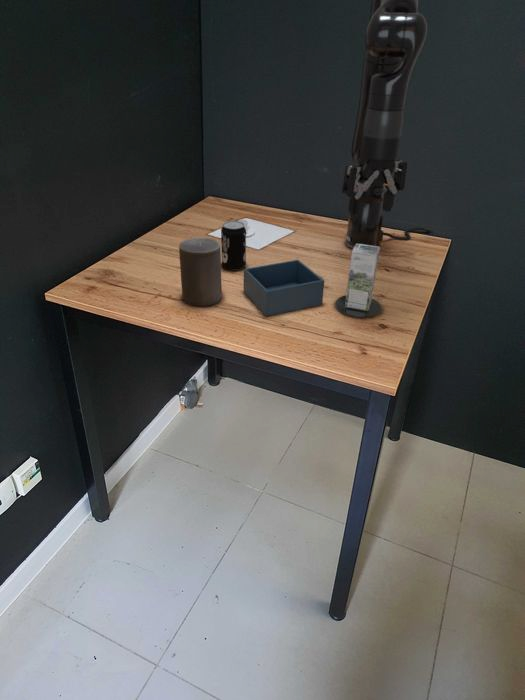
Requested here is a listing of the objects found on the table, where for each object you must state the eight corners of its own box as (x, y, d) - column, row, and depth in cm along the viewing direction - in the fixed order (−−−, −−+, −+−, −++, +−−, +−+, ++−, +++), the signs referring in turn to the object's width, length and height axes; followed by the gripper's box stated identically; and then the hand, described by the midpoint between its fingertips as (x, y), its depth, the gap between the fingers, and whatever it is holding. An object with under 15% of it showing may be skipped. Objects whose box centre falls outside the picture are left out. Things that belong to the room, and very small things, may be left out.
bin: (296, 282, 132) (298, 259, 128) (322, 304, 122) (324, 280, 118) (243, 292, 126) (243, 268, 123) (265, 316, 116) (266, 291, 113)
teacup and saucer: (241, 226, 165) (241, 214, 163) (261, 232, 161) (261, 219, 159) (224, 234, 159) (224, 221, 157) (244, 240, 155) (244, 227, 153)
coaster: (363, 293, 127) (364, 291, 127) (390, 313, 119) (390, 311, 119) (326, 301, 123) (326, 299, 123) (351, 322, 115) (351, 320, 115)
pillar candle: (189, 309, 118) (185, 249, 110) (177, 291, 126) (173, 234, 117) (227, 302, 121) (226, 244, 113) (214, 285, 129) (212, 229, 120)
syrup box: (371, 301, 122) (381, 245, 114) (368, 312, 118) (377, 254, 110) (348, 297, 124) (356, 241, 116) (344, 308, 119) (351, 251, 111)
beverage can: (242, 272, 136) (242, 229, 129) (219, 269, 137) (218, 227, 130) (248, 262, 141) (248, 221, 135) (225, 260, 142) (224, 219, 136)
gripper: (362, 139, 94) (352, 222, 103) (422, 134, 99) (407, 214, 108) (341, 131, 100) (333, 211, 109) (398, 127, 105) (386, 203, 114)
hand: (370, 212), depth 109 cm, fingers open, 8 cm apart
